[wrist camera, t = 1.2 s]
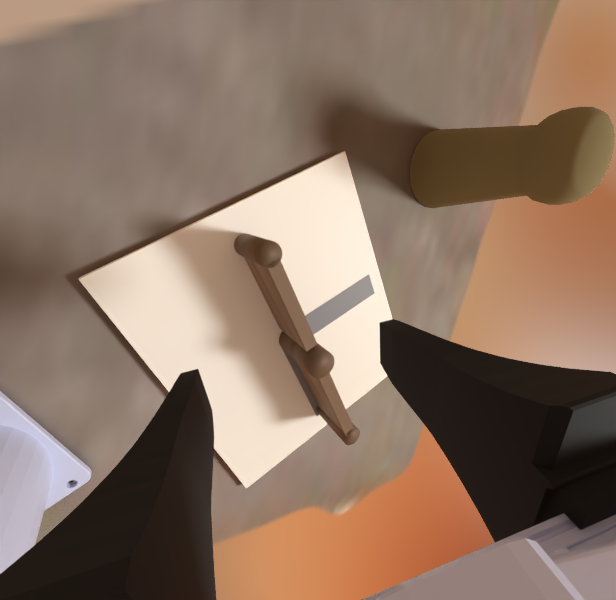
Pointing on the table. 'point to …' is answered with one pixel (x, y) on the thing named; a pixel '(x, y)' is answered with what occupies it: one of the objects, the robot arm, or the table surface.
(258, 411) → the card
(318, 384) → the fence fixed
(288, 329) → the fence gate
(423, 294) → the table surface
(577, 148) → the cork
